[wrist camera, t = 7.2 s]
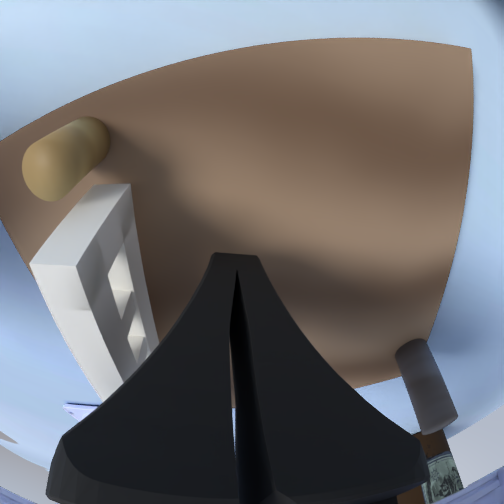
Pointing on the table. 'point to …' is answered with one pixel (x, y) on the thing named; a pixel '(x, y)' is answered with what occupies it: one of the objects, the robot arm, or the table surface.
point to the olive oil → (435, 472)
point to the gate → (99, 287)
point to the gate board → (280, 188)
